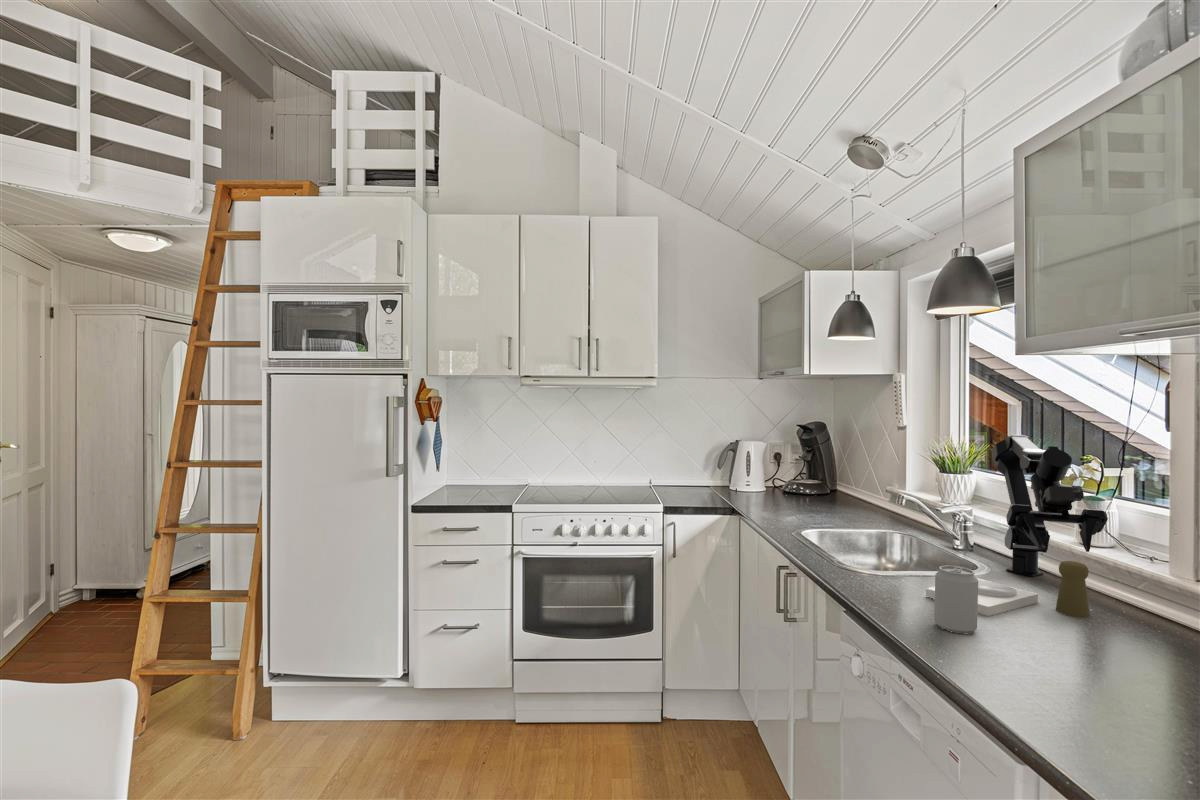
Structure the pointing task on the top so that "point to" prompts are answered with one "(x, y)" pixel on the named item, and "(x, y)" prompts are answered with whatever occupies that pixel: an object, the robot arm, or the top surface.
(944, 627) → the can
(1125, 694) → the top surface
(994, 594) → the kitchen scale
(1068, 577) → the cork
